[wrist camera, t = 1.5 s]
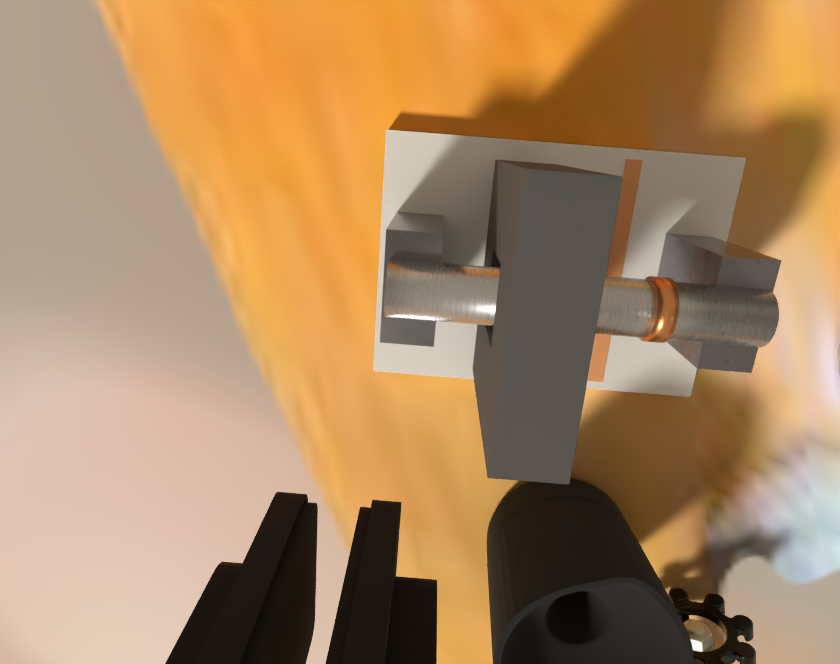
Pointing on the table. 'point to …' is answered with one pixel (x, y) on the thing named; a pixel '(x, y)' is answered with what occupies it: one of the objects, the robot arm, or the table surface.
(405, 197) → the base board
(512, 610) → the pen holder
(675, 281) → the pipe
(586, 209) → the collar
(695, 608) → the valve
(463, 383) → the table surface
